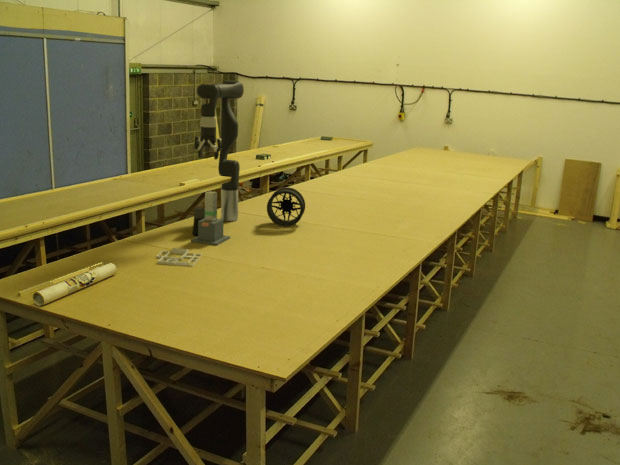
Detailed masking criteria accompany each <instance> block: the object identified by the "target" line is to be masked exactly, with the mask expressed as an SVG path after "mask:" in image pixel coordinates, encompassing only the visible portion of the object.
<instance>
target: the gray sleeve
mask: <svg viewBox="0 0 620 465" xmlns="http://www.w3.org/2000/svg"><path fill="white" fill-rule="evenodd" d="M230 239H231V236H230V235H224V220H223V219H221V218H217V221H214V222H208V221H205V218H204V219H202V220H200V221H198V236H195V237H194V238H192V239H190V241H191V242H192V243H197V244H204V245H212V246H219V245H220V244H221V245H222V244H223V243H224V242H226V241H228V240H230ZM191 242H190V243H191Z"/></svg>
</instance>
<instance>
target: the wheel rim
mask: <svg viewBox="0 0 620 465" xmlns="http://www.w3.org/2000/svg"><path fill="white" fill-rule="evenodd" d="M279 195H280V196H282V199H281V200H279V199H278V196H279ZM287 195H288V197H286V196H287ZM293 197H294V198H295V199H296V201H293ZM275 199H276V201H274V200H275ZM273 204H278V206H277V205H273ZM296 205H297V206H299V207H296ZM273 208H275V209H276V210H275V212H274V209H273ZM305 209H306V201H305V198H304V196H303V194H302V193H301V192H300V191H298V190H297V189H295V188H292V187H289V186H287V187H286V186H285V187H281V188H279V189H277V190H275V191H274V192H273V193H272V195H271V196H270V198H269V199H268V201H267V204H266V212H267V213H266V214H267V216H268V218H269V219H270V220H271V221H272V222H273V223H274V224H275V225H277V226H279V227H285V228H286V227H292V226H295V225H296V224H297V223H299V221H301V218H302V217H303V215H304V213H305V211H306V210H305ZM278 210H279V211H281V210H282V211H281V214H279V215H277V214H276V213H277V212H278ZM298 210H299V212H298ZM292 212H295V213H296V214H297V216H295V215H293V214H292ZM286 215H287V217H286ZM280 216H282V217H283V219H282V218H280ZM290 217H292V218H293V219H290ZM286 218H287V220H286Z"/></svg>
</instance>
